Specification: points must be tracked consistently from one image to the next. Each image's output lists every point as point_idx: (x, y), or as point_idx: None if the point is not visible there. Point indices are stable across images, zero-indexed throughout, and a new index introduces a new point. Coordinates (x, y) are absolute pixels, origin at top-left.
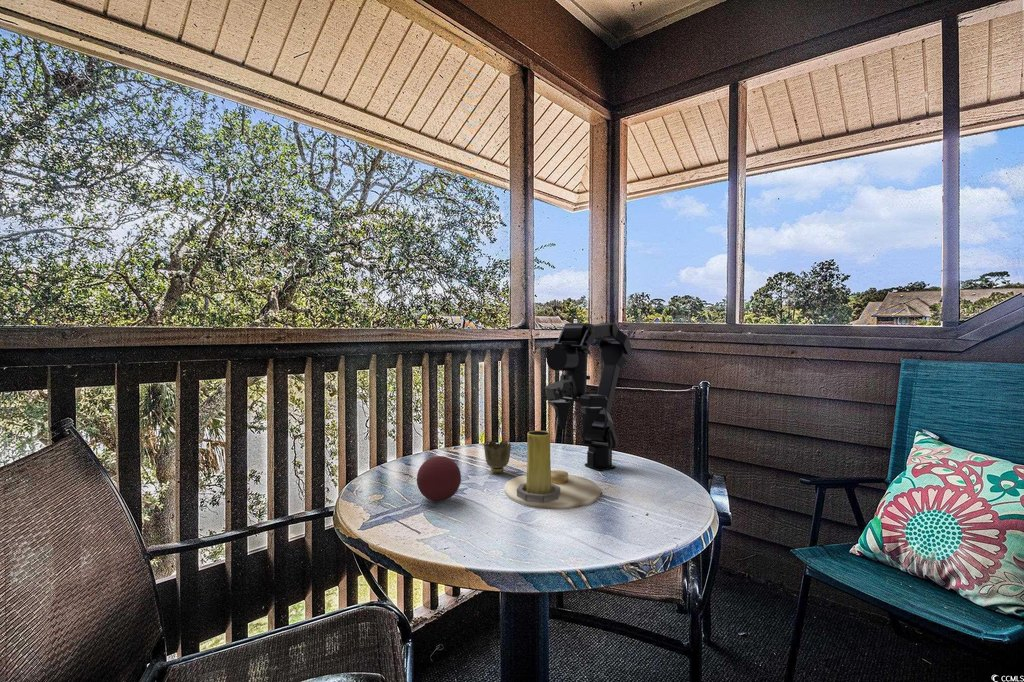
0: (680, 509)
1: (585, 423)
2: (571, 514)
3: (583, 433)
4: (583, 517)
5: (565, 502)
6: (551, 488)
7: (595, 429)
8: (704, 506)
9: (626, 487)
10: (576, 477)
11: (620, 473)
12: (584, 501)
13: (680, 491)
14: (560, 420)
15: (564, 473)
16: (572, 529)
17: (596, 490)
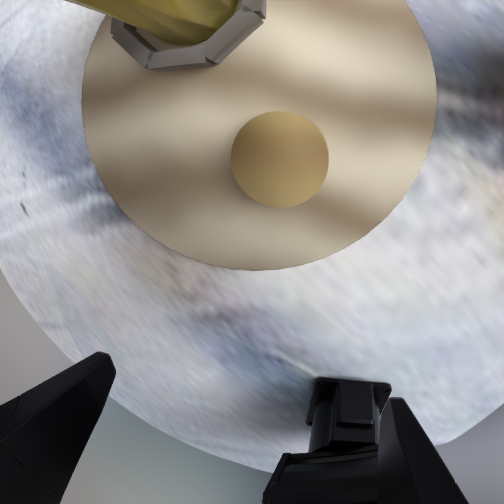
0: (32, 281)
1: (29, 390)
2: (70, 47)
3: (99, 354)
4: (49, 67)
5: (97, 51)
6: (157, 36)
7: (310, 500)
8: (39, 323)
9: (157, 318)
10: (279, 252)
11: (263, 397)
12: (82, 108)
13: None
14: (402, 458)
15: (257, 181)
16: (30, 21)
17: (130, 204)
